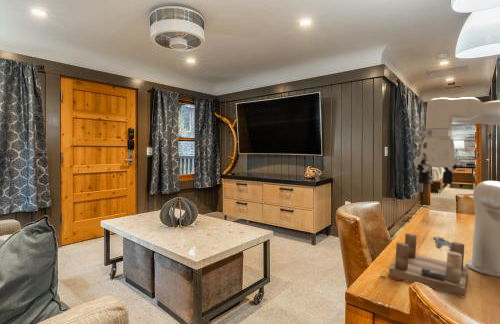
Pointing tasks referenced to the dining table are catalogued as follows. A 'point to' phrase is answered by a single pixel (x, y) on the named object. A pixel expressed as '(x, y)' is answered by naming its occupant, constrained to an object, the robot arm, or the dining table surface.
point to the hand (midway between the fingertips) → (435, 183)
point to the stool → (412, 264)
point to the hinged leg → (449, 268)
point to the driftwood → (442, 243)
